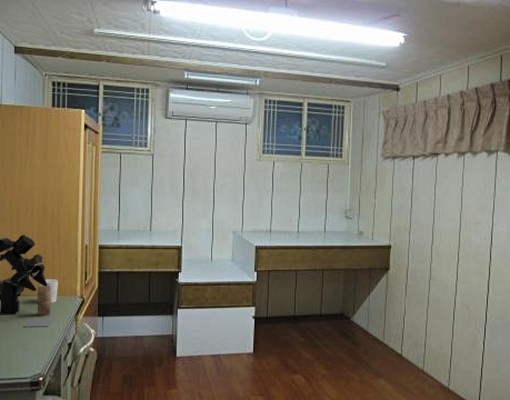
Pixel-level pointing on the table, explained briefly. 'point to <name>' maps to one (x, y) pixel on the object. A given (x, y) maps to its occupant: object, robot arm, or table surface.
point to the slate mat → (38, 323)
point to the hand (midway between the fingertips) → (41, 288)
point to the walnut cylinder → (44, 300)
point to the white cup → (52, 288)
